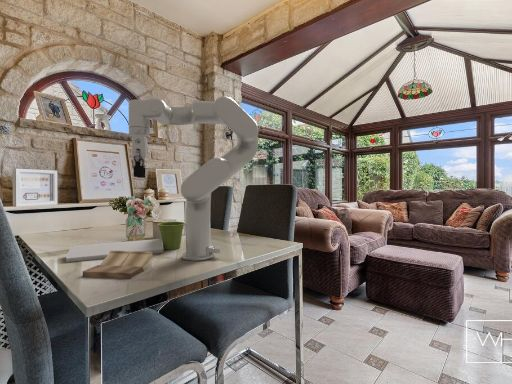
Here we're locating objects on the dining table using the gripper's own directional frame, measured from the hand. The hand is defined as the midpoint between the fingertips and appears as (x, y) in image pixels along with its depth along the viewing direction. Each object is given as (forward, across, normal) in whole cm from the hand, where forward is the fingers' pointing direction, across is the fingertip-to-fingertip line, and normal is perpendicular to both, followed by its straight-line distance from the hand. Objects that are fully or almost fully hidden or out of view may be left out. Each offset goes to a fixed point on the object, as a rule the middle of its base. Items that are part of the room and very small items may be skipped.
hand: (139, 177), depth 106 cm
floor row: (+31, -19, +6) cm, 37 cm away
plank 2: (+30, -14, -1) cm, 33 cm away
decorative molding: (+32, +8, +9) cm, 35 cm away
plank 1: (+30, -10, +6) cm, 32 cm away
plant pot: (+32, +13, -12) cm, 36 cm away
